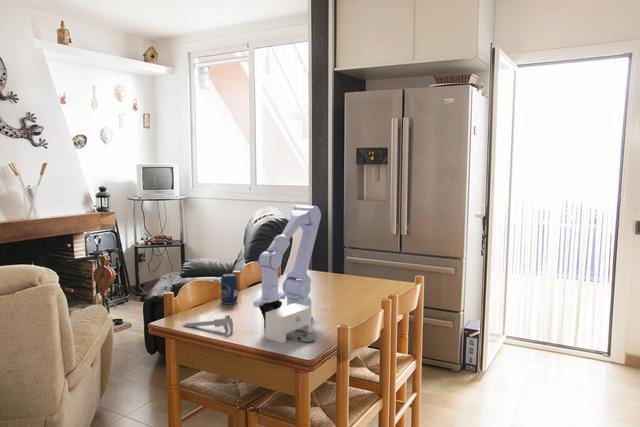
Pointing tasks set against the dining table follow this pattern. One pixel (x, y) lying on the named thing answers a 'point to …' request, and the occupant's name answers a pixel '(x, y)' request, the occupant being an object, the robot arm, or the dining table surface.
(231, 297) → the soda can
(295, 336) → the grey piece
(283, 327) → the cabinet
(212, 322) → the caliper
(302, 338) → the token
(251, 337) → the dining table surface
